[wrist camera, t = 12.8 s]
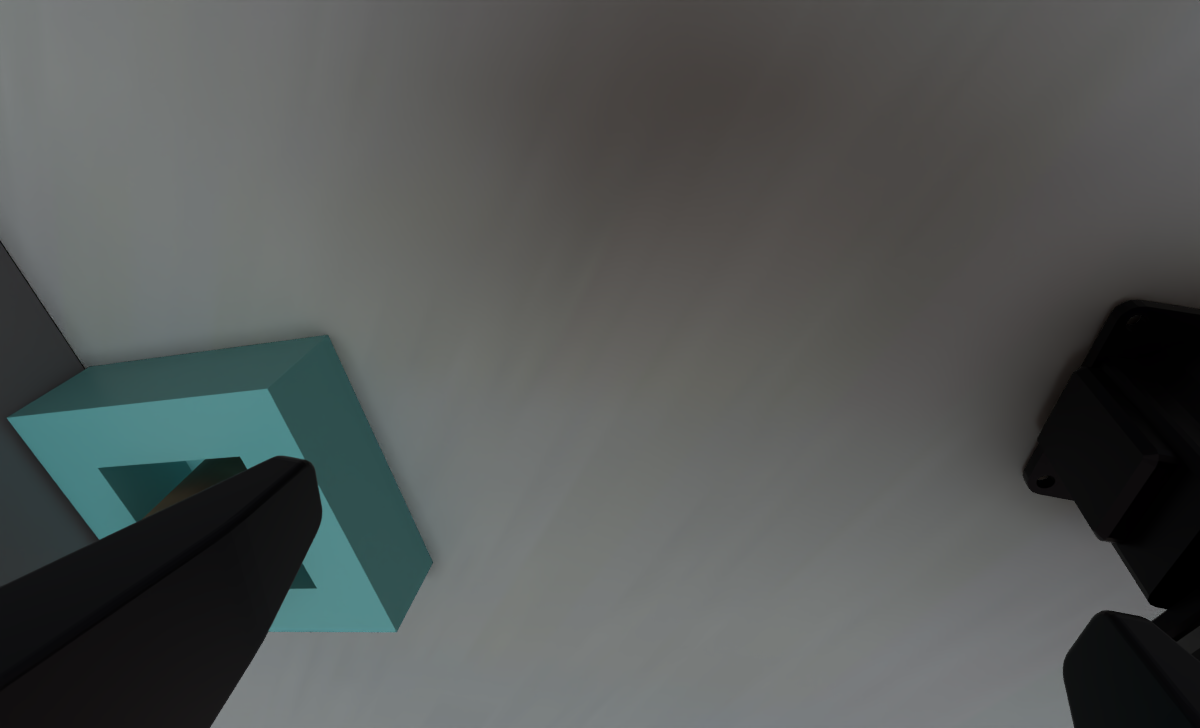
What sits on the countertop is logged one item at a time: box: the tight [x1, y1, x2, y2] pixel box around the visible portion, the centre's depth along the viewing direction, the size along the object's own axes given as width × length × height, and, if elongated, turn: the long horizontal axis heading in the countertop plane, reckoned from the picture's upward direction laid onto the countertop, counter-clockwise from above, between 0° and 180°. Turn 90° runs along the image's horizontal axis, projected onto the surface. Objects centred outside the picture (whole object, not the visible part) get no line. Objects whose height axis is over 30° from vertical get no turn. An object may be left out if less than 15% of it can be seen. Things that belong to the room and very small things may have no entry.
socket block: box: [7, 335, 433, 632], centre depth 26 cm, size 11×11×4 cm
